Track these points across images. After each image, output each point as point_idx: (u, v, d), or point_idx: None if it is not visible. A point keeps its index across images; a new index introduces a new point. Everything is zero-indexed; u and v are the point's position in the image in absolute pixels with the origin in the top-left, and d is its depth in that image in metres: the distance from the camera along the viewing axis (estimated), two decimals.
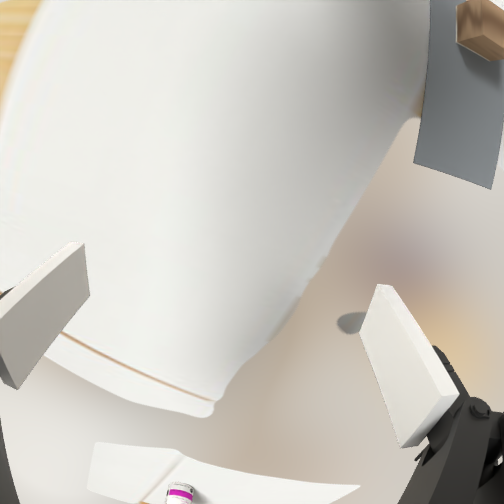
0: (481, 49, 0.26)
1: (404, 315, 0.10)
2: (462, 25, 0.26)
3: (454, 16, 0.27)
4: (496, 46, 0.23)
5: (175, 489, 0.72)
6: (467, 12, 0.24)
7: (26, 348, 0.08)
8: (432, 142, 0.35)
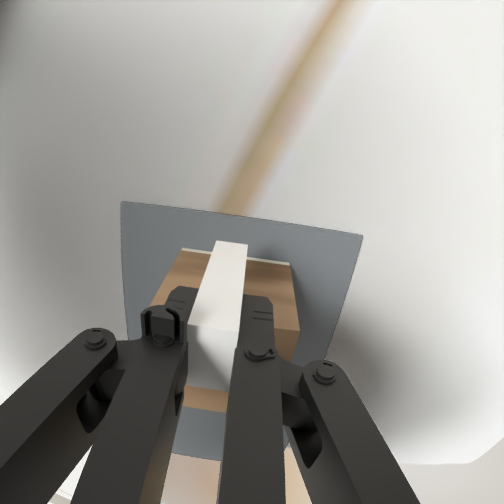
0: None
1: (235, 265, 0.12)
2: None
3: None
4: None
5: None
6: None
7: None
8: None
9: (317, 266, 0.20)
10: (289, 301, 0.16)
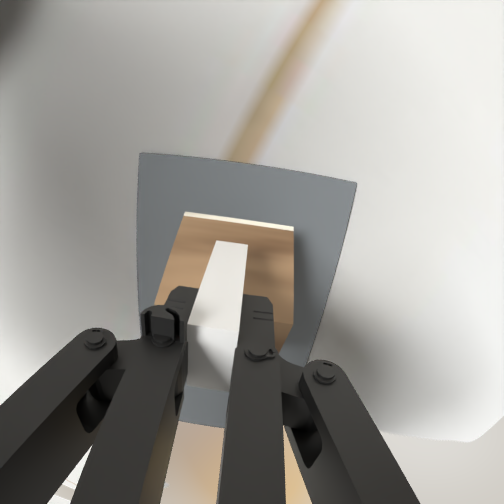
0: None
1: (235, 265, 0.12)
2: None
3: None
4: None
5: None
6: None
7: None
8: None
9: (317, 210, 0.22)
10: (287, 284, 0.17)
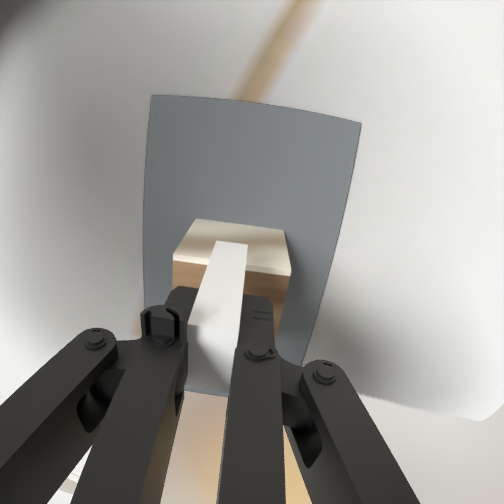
0: None
1: (235, 265, 0.12)
2: None
3: (197, 158, 0.22)
4: None
5: None
6: None
7: None
8: None
9: (324, 147, 0.22)
10: None
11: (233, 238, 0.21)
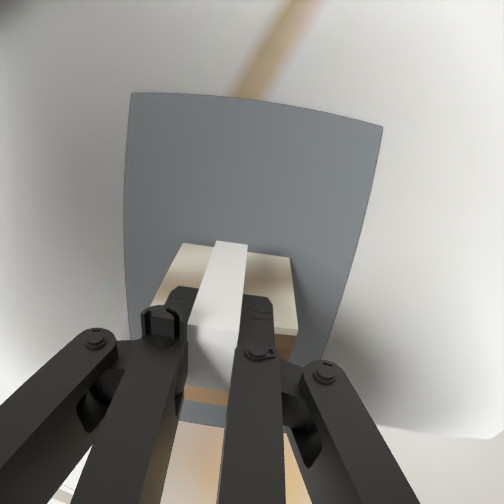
0: None
1: (235, 265, 0.12)
2: None
3: (186, 168, 0.19)
4: None
5: None
6: None
7: None
8: None
9: (338, 156, 0.18)
10: None
11: None
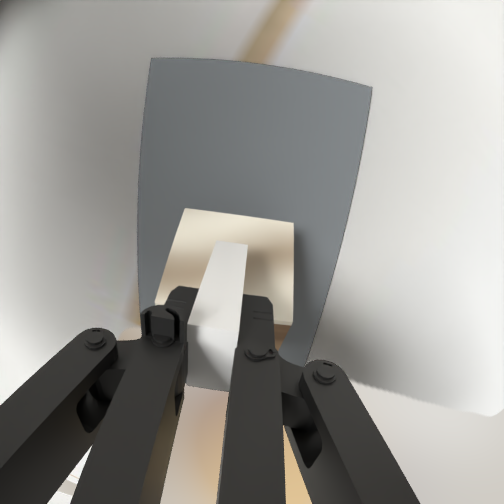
0: None
1: (235, 265, 0.12)
2: None
3: (198, 122, 0.20)
4: None
5: None
6: None
7: None
8: None
9: (334, 111, 0.20)
10: None
11: None
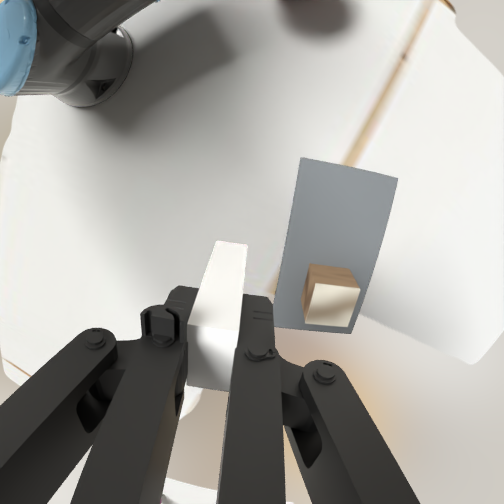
0: (334, 278, 0.46)
1: (236, 265, 0.12)
2: (310, 293, 0.47)
3: (322, 193, 0.46)
4: (329, 268, 0.49)
5: None
6: (306, 300, 0.49)
7: None
8: (284, 311, 0.54)
9: (380, 190, 0.45)
10: None
11: (331, 305, 0.45)
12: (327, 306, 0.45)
